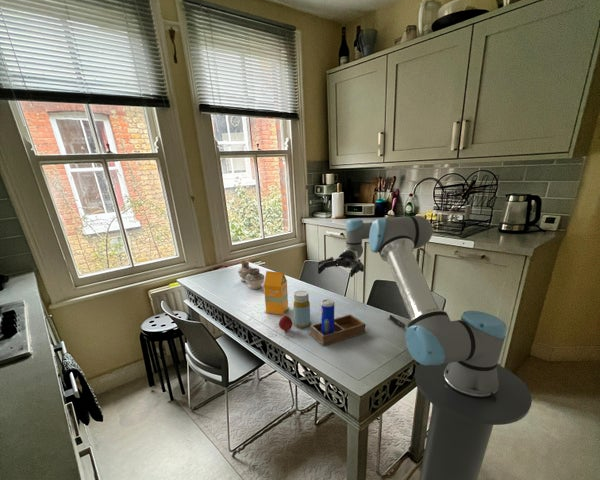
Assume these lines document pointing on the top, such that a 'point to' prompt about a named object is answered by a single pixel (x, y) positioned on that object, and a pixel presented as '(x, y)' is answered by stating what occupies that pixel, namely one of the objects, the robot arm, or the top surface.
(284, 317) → the onion
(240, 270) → the pottery
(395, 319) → the kitchen knife
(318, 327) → the wooden divided tray
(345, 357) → the top surface
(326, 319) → the beverage can
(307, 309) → the bottle
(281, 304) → the orange juice
